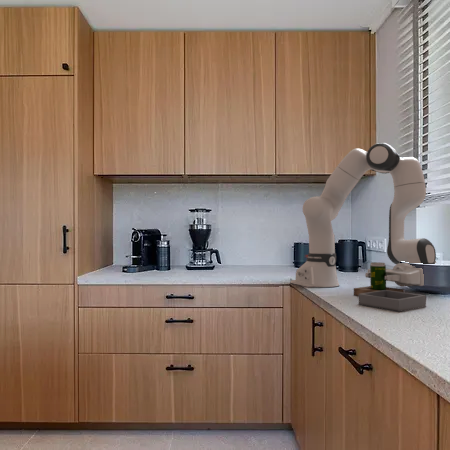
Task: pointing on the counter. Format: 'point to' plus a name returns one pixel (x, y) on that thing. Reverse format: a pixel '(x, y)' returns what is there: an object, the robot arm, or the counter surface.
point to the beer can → (378, 276)
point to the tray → (392, 300)
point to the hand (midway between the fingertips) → (376, 276)
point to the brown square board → (368, 289)
